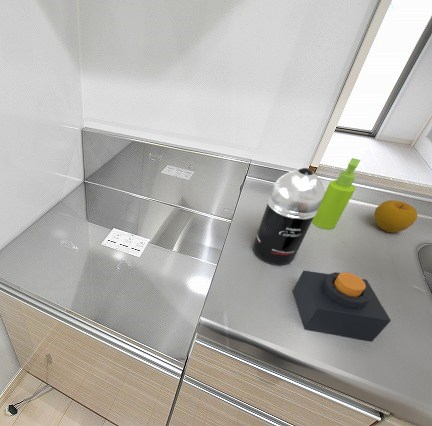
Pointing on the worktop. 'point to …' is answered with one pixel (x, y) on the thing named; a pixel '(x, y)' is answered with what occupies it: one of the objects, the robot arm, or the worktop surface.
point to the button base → (338, 308)
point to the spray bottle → (288, 216)
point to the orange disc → (349, 284)
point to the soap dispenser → (336, 198)
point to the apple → (395, 216)
